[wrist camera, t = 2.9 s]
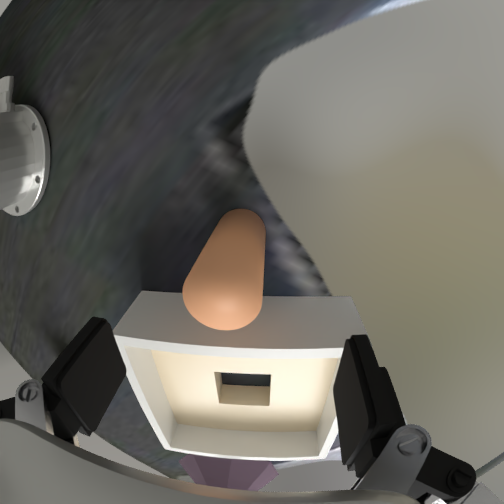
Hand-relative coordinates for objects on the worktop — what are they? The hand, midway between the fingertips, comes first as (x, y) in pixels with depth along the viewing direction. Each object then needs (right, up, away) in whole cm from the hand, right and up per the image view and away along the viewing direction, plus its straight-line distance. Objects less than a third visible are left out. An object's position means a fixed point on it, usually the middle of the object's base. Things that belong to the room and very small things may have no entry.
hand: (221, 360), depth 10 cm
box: (0, -9, +19) cm, 21 cm away
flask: (-2, -29, +28) cm, 41 cm away
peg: (0, +6, +13) cm, 14 cm away
